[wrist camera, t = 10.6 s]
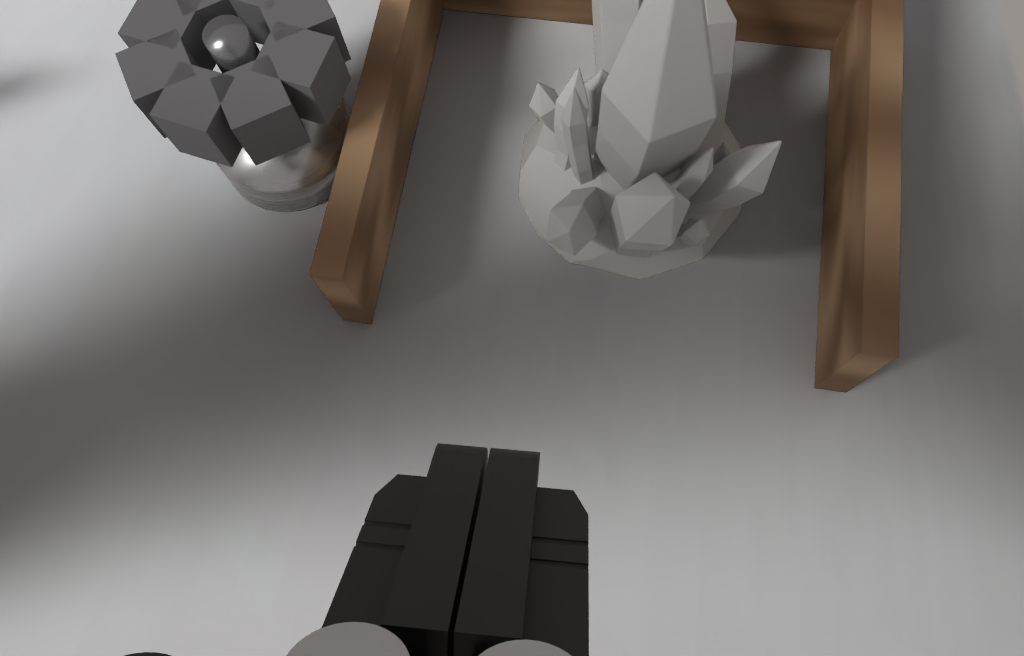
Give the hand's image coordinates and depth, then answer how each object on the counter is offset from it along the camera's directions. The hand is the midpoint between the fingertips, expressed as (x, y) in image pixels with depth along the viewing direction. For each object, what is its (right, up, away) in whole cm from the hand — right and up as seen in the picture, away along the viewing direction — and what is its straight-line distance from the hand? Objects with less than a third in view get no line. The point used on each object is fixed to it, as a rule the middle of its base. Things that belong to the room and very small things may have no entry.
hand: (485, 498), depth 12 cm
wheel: (-10, +12, +19) cm, 25 cm away
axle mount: (-9, +10, +24) cm, 28 cm away
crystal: (+6, +10, +24) cm, 26 cm away
